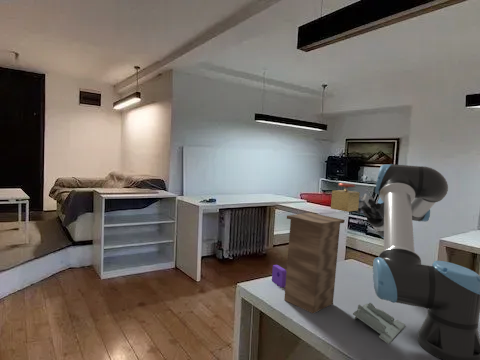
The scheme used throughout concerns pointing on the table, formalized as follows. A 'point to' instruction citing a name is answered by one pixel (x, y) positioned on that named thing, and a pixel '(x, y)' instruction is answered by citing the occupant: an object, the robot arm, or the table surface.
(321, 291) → the stand
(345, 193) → the valve pipe
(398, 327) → the metal bracket
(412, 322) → the table surface
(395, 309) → the table surface
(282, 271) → the bracket
